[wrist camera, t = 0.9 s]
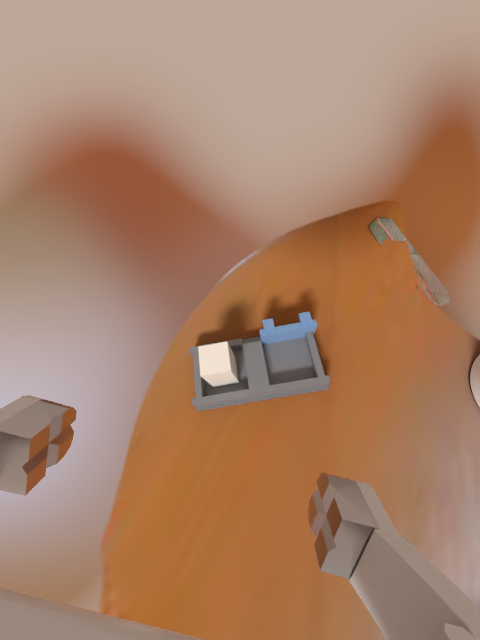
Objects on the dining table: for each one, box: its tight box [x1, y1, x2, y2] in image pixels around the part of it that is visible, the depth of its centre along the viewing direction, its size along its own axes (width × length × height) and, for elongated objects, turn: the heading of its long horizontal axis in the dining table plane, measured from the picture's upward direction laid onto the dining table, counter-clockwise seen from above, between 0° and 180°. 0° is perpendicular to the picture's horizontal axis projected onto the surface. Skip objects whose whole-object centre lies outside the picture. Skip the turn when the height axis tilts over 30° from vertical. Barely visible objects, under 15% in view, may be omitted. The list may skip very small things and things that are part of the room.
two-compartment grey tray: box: [189, 311, 331, 411], centre depth 39 cm, size 20×11×6 cm, turn 98°
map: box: [370, 217, 450, 306], centre depth 46 cm, size 5×20×1 cm, turn 18°
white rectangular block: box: [198, 342, 239, 387], centre depth 37 cm, size 4×4×8 cm
